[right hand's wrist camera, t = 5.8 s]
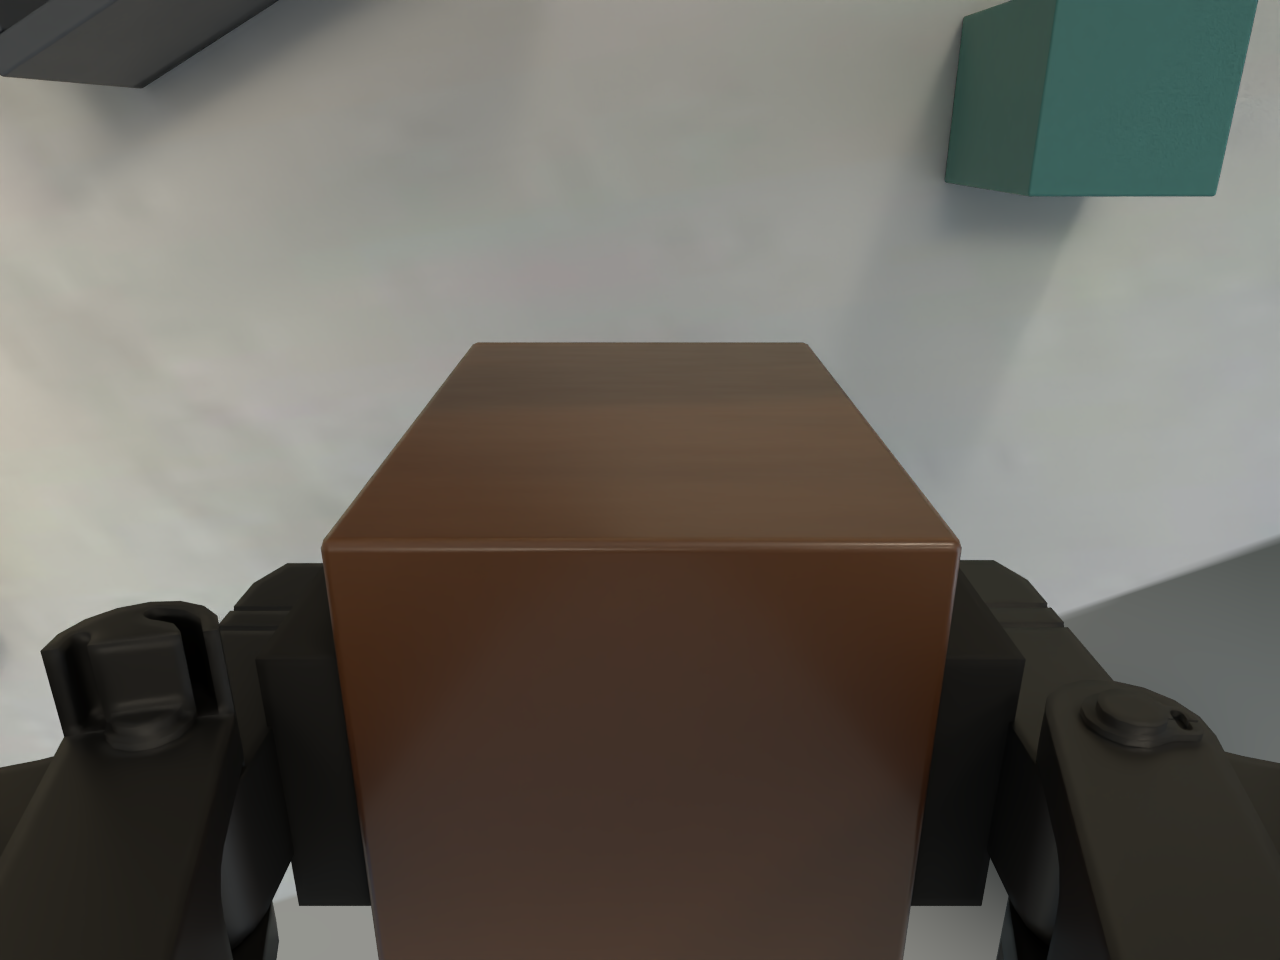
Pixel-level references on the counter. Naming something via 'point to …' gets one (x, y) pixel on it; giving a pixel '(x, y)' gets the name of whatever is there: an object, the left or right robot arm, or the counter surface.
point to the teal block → (1097, 96)
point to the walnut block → (641, 661)
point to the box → (111, 37)
